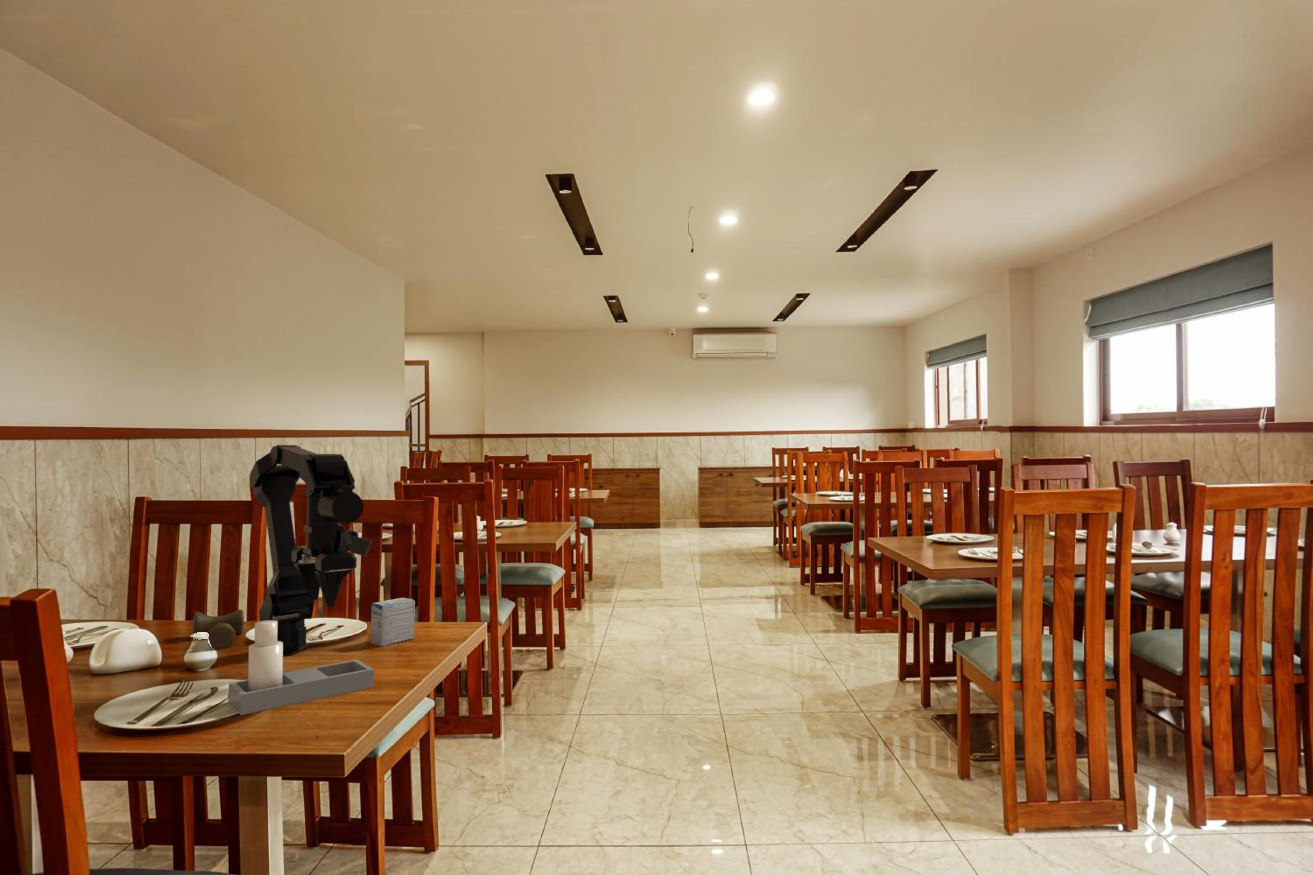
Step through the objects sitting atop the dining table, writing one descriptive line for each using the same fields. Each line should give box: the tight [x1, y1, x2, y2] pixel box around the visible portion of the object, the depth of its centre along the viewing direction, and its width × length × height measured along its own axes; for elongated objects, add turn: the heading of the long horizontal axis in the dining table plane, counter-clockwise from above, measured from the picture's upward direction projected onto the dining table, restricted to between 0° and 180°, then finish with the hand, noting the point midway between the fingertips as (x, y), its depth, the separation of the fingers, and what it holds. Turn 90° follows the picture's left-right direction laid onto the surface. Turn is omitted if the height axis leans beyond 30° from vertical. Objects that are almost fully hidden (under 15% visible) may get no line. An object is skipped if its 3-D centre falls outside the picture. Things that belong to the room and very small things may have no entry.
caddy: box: [228, 659, 375, 716], centre depth 119 cm, size 8×20×4 cm, turn 132°
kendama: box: [192, 609, 245, 650], centre depth 157 cm, size 6×10×20 cm
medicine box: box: [370, 597, 416, 647], centre depth 156 cm, size 8×4×9 cm, turn 144°
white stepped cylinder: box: [247, 620, 284, 692], centre depth 115 cm, size 5×5×12 cm
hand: (322, 603), depth 136 cm, fingers open, 9 cm apart
